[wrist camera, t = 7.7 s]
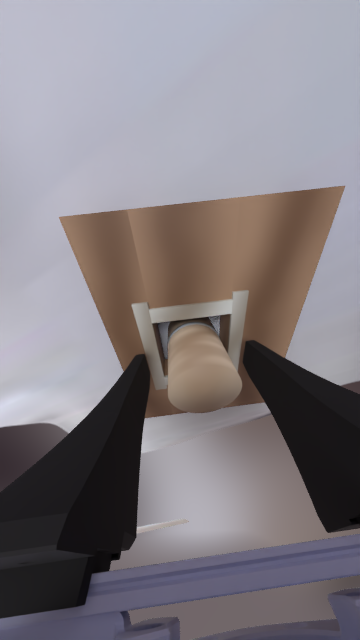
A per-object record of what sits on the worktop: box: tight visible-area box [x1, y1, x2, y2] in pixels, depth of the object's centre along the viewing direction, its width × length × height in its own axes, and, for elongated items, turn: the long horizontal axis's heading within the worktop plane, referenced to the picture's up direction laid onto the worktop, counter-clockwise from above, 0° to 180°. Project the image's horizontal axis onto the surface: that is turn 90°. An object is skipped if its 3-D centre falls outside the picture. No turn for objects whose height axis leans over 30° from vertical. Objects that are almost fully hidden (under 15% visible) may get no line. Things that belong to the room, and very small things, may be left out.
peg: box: [167, 317, 242, 413], centre depth 10 cm, size 4×4×6 cm
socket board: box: [59, 186, 345, 418], centre depth 12 cm, size 14×18×2 cm
